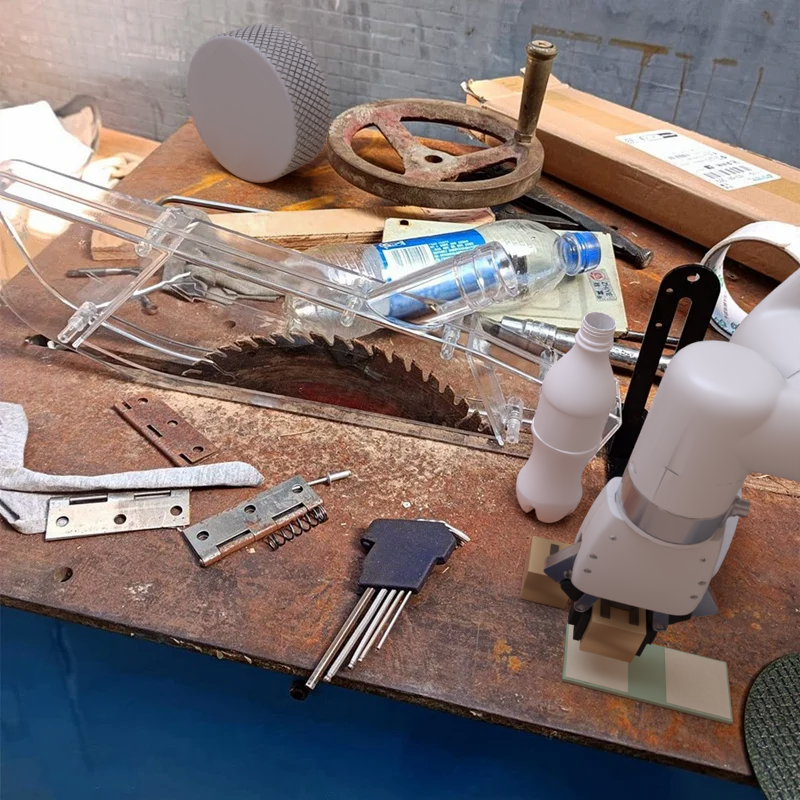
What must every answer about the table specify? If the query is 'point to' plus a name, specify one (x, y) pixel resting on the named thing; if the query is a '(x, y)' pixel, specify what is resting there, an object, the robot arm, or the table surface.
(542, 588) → the tile
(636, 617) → the tile
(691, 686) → the word board
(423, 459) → the table surface
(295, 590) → the table surface
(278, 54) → the knob
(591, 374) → the water bottle
